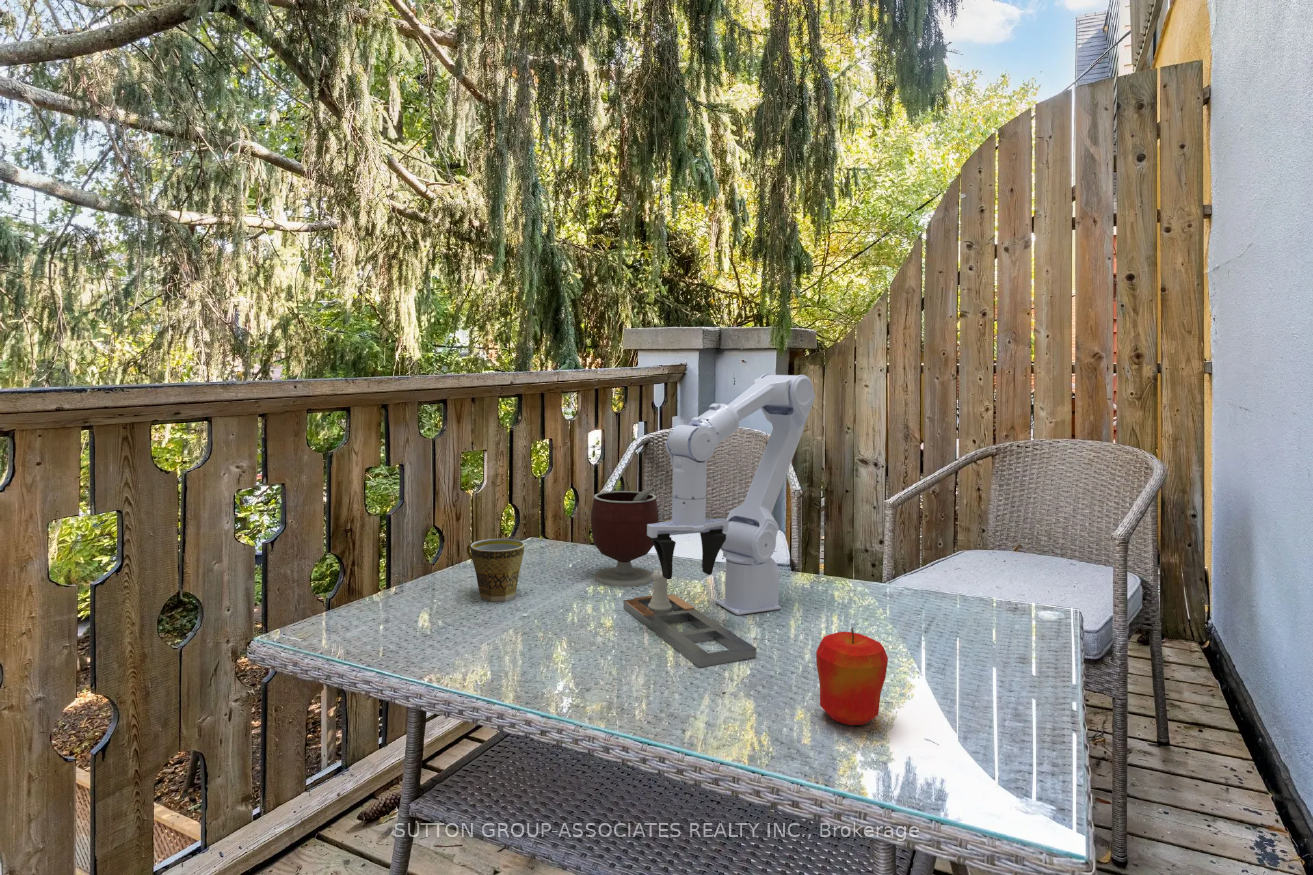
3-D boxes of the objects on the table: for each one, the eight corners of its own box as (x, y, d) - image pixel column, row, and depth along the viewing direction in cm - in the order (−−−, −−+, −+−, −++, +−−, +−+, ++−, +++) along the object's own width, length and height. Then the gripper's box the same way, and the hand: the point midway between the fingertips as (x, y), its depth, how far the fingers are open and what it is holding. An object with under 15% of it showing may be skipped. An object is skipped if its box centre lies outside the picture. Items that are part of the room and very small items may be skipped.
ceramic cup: (535, 594, 143) (535, 543, 142) (498, 608, 135) (498, 553, 134) (486, 583, 150) (486, 533, 149) (447, 595, 142) (447, 543, 141)
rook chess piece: (664, 620, 130) (665, 575, 130) (642, 615, 133) (643, 571, 132) (676, 613, 134) (677, 569, 133) (655, 608, 136) (656, 565, 136)
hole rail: (672, 602, 140) (672, 593, 140) (756, 657, 114) (756, 646, 114) (623, 608, 136) (623, 599, 136) (699, 667, 110) (699, 656, 110)
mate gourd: (576, 576, 156) (577, 481, 154) (627, 565, 166) (629, 475, 164) (624, 593, 145) (626, 491, 143) (676, 580, 154) (678, 484, 152)
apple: (809, 727, 92) (812, 633, 91) (819, 699, 100) (822, 612, 99) (882, 740, 89) (886, 644, 88) (886, 710, 97) (891, 621, 96)
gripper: (660, 503, 120) (658, 586, 121) (738, 497, 126) (736, 577, 127) (642, 495, 126) (641, 575, 128) (717, 491, 132) (715, 566, 134)
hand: (687, 575), depth 128 cm, fingers open, 7 cm apart
